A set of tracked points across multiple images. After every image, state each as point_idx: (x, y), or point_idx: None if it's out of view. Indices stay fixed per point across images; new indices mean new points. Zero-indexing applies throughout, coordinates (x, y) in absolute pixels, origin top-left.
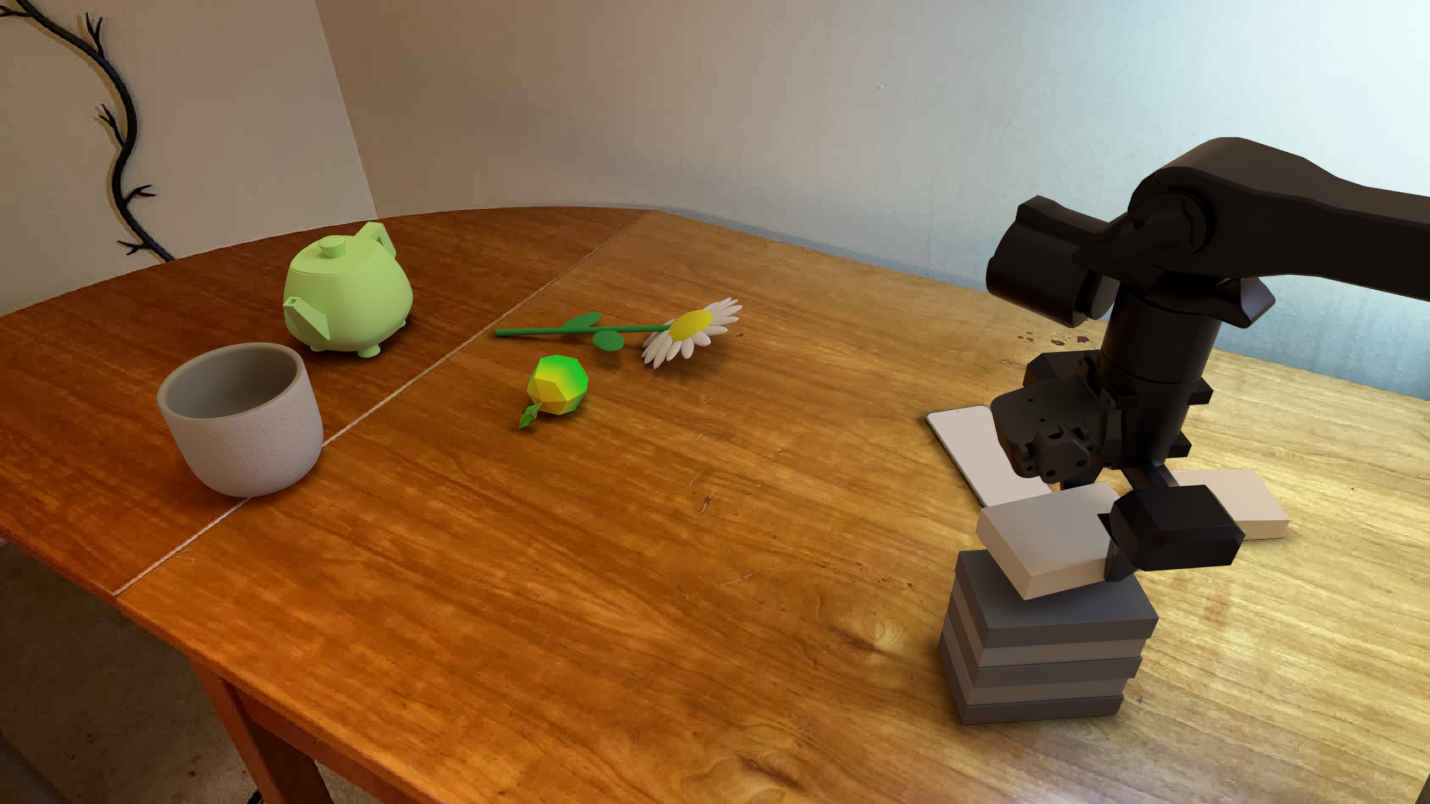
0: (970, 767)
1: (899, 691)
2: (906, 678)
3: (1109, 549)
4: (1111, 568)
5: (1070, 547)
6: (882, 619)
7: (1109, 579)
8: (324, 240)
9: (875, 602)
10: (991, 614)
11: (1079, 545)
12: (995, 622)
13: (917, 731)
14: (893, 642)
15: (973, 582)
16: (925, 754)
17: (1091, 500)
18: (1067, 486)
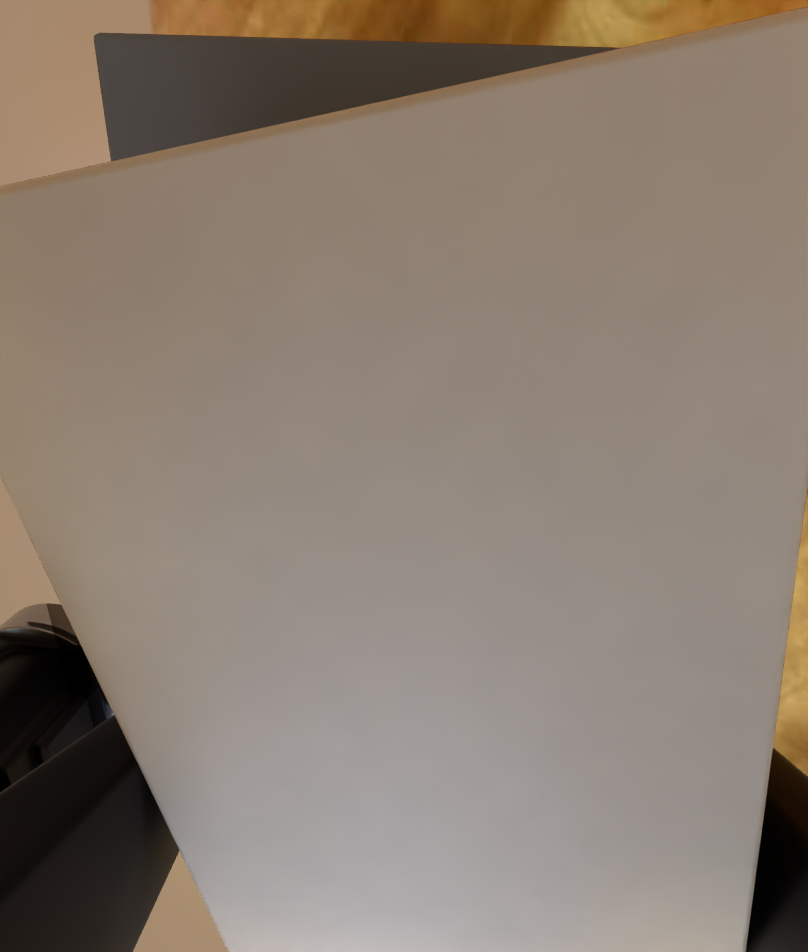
0: None
1: (425, 6)
2: (462, 42)
3: (21, 852)
4: (71, 745)
5: (208, 630)
6: (675, 20)
7: None
8: None
9: (746, 12)
10: (177, 84)
11: (234, 684)
12: (131, 89)
13: (306, 26)
14: (585, 35)
15: (396, 53)
16: (244, 29)
17: (608, 899)
18: (788, 850)
